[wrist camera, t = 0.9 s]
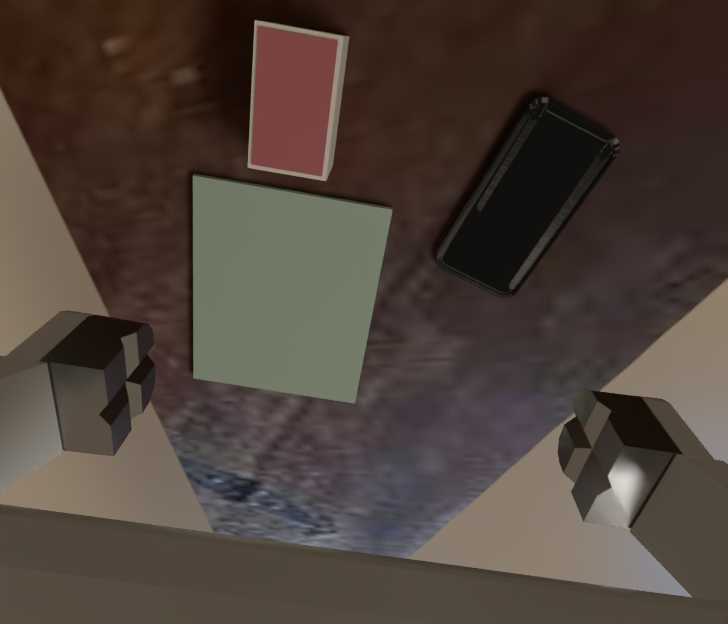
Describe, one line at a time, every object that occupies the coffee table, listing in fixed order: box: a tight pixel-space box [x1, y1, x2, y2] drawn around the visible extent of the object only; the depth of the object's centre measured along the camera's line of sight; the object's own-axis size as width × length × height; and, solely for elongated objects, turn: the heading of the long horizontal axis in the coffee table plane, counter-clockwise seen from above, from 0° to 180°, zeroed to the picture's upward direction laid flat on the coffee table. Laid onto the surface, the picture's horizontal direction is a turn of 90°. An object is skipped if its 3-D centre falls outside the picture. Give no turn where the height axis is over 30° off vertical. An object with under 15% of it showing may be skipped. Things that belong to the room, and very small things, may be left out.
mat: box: [193, 174, 393, 403], centre depth 45 cm, size 20×16×1 cm
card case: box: [248, 20, 349, 181], centre depth 35 cm, size 9×6×5 cm, turn 171°
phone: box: [436, 96, 620, 298], centre depth 40 cm, size 8×1×15 cm
